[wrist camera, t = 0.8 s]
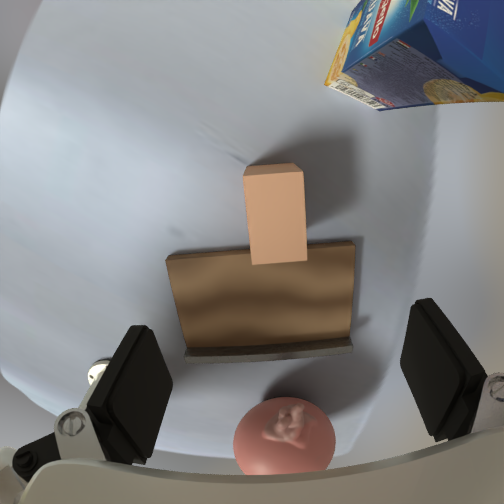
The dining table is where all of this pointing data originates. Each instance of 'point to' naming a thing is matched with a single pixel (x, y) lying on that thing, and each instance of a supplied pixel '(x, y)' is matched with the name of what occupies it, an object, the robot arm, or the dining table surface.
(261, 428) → the balloon
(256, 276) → the shelf board
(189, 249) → the dining table surface
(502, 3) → the beverage box
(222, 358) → the rail
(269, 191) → the carton
